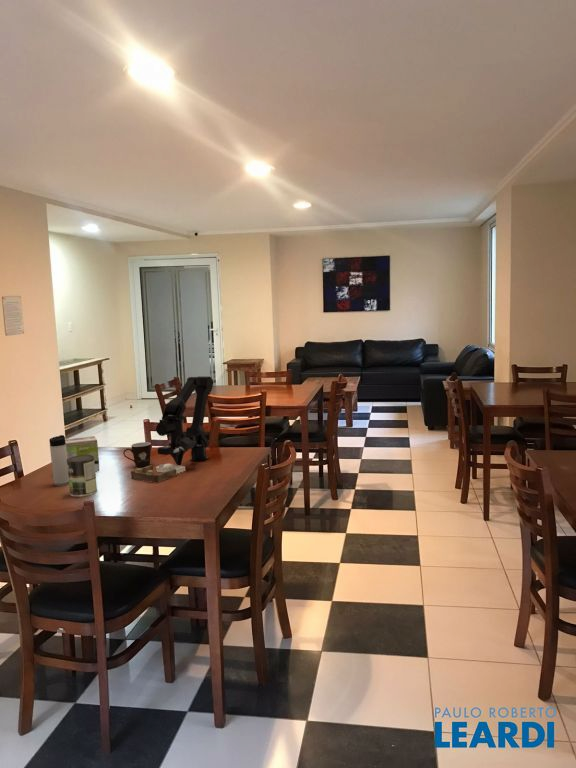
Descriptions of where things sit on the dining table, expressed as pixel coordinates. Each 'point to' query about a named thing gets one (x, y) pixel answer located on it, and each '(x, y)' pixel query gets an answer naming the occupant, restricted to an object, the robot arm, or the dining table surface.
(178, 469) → the door panel
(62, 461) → the travel mug
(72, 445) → the tea box
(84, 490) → the coffee can
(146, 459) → the coffee mug
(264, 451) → the dining table surface
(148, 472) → the cabinet frame
